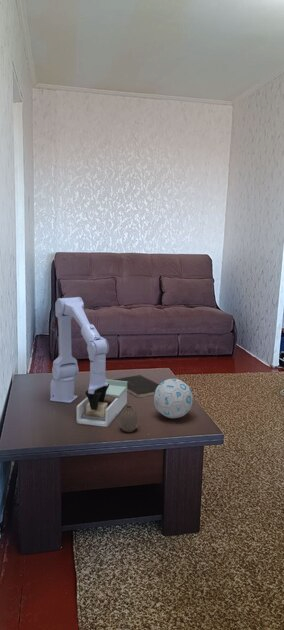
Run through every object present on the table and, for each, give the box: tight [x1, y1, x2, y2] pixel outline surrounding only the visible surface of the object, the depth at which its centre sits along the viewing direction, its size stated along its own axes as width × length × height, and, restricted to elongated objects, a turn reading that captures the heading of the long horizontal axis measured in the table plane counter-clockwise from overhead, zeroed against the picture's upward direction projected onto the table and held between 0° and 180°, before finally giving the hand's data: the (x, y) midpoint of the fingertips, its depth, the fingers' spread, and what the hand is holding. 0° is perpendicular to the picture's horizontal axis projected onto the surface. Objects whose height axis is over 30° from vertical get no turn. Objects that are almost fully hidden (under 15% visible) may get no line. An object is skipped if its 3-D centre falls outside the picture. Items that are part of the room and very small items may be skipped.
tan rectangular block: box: [86, 402, 109, 418], centre depth 177 cm, size 7×4×5 cm, turn 76°
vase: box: [118, 405, 139, 433], centre depth 167 cm, size 7×7×9 cm
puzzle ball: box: [153, 378, 194, 419], centre depth 180 cm, size 15×15×15 cm
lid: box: [105, 378, 127, 398], centre depth 188 cm, size 12×12×3 cm
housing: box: [76, 389, 128, 428], centre depth 183 cm, size 12×26×6 cm, turn 166°
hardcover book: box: [112, 374, 160, 398], centre depth 215 cm, size 16×23×2 cm
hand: (97, 405), depth 176 cm, fingers open, 7 cm apart
